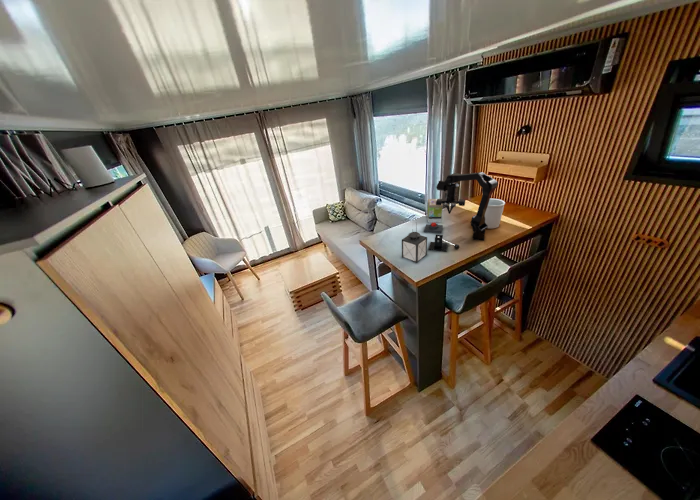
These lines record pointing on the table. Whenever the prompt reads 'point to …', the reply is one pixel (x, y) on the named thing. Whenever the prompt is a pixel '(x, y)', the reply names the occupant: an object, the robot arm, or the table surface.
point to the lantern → (414, 246)
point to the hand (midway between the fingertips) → (449, 213)
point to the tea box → (434, 211)
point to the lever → (450, 243)
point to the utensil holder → (494, 212)
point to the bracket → (438, 244)
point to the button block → (433, 228)
